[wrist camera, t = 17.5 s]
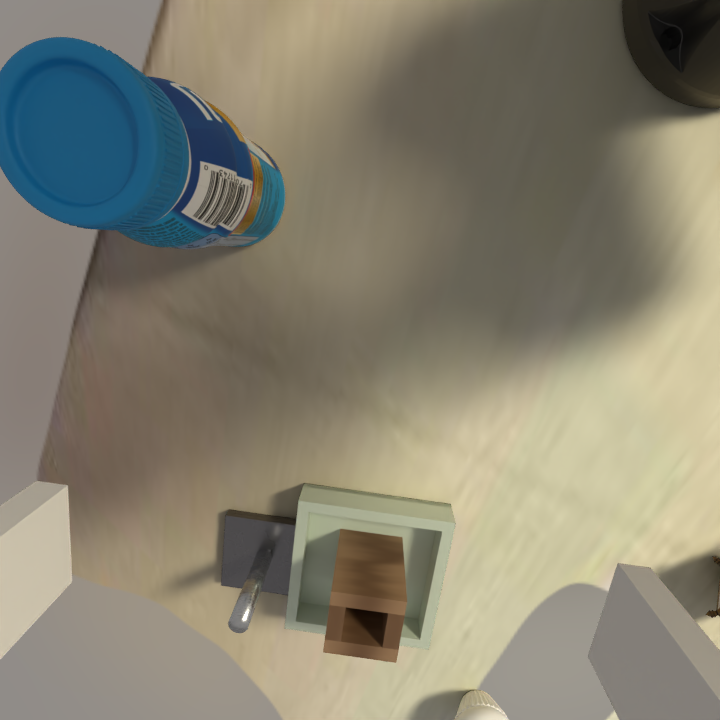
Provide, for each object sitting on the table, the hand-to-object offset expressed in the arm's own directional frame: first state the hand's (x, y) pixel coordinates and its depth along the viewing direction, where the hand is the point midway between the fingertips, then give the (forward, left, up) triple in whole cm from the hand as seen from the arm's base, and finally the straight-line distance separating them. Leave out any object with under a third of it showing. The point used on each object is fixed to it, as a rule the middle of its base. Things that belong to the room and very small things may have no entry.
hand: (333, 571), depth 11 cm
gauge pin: (+7, +23, -29) cm, 37 cm away
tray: (-3, +22, -29) cm, 36 cm away
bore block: (-3, +22, -28) cm, 36 cm away
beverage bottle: (+12, -10, -29) cm, 33 cm away
